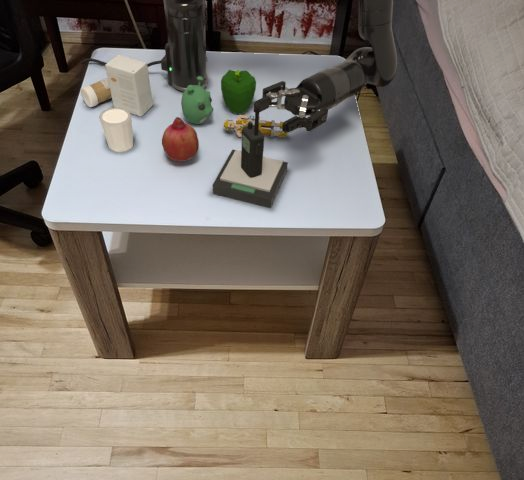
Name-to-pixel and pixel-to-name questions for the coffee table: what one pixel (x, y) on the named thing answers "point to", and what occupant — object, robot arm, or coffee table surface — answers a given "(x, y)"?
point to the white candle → (117, 128)
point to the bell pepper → (238, 90)
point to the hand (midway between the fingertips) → (269, 118)
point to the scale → (250, 181)
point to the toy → (240, 124)
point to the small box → (129, 84)
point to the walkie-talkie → (252, 147)
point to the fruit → (180, 141)
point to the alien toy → (196, 103)
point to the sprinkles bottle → (96, 93)
